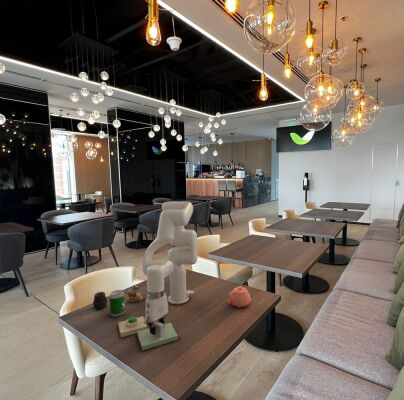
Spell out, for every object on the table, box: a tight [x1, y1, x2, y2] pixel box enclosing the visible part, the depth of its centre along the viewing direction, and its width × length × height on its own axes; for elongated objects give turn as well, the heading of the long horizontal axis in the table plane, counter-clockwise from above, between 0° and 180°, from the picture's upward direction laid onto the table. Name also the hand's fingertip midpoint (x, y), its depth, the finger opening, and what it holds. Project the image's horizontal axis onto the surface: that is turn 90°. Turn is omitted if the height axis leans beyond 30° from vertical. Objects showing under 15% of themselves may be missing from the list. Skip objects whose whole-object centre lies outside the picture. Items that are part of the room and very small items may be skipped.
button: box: [127, 315, 137, 323], centre depth 130 cm, size 4×4×2 cm
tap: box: [151, 320, 165, 337], centre depth 122 cm, size 7×2×5 cm, turn 58°
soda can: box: [108, 289, 126, 318], centre depth 143 cm, size 8×8×12 cm
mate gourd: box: [92, 291, 108, 310], centre depth 150 cm, size 7×8×10 cm
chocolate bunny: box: [126, 284, 144, 303], centre depth 158 cm, size 6×8×10 cm
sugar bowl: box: [227, 285, 252, 309], centre depth 152 cm, size 12×14×10 cm
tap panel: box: [136, 322, 179, 351], centre depth 123 cm, size 16×12×2 cm
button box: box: [118, 316, 148, 338], centre depth 130 cm, size 12×10×4 cm
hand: (157, 330), depth 122 cm, fingers open, 4 cm apart
